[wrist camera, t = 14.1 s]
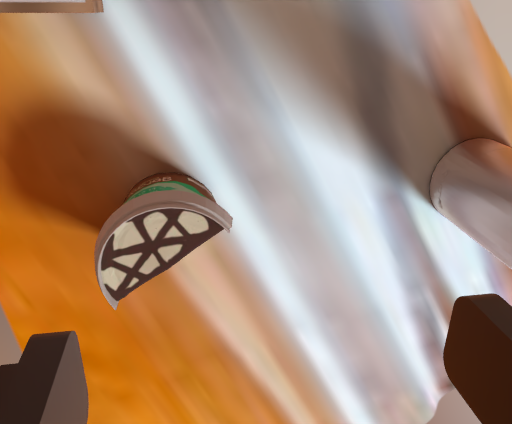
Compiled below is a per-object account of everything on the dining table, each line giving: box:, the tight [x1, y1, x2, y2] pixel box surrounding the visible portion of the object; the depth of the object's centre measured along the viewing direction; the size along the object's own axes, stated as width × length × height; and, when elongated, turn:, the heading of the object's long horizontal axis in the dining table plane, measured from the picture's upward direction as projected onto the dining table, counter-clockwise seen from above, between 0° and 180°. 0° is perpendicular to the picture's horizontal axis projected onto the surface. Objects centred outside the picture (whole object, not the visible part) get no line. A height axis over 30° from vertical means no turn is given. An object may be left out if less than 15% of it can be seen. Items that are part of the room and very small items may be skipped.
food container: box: [95, 173, 233, 310], centre depth 39 cm, size 12×6×10 cm, turn 123°
